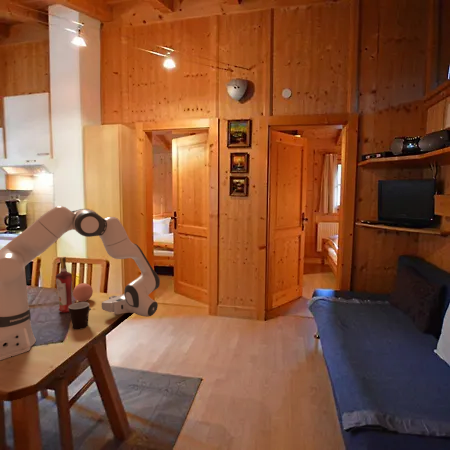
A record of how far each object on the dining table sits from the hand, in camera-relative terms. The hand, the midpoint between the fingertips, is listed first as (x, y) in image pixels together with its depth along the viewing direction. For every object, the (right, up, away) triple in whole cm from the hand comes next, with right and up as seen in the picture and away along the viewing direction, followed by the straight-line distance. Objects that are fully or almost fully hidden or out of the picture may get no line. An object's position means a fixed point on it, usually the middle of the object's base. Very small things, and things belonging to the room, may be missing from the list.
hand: (111, 297), depth 170 cm
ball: (-20, 0, +12) cm, 23 cm away
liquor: (-22, -7, -2) cm, 23 cm away
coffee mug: (-7, -9, -18) cm, 22 cm away
